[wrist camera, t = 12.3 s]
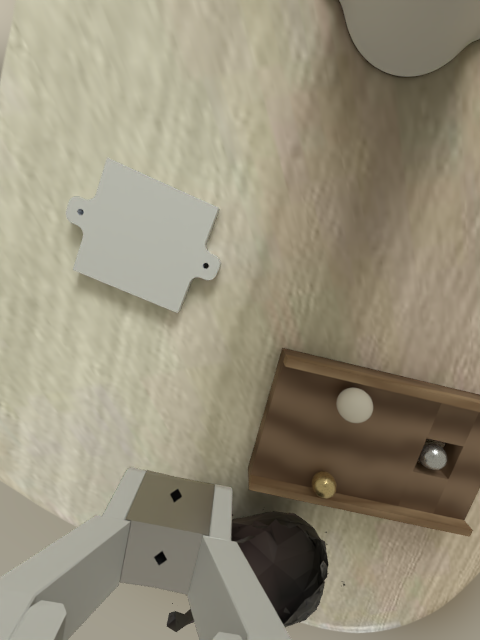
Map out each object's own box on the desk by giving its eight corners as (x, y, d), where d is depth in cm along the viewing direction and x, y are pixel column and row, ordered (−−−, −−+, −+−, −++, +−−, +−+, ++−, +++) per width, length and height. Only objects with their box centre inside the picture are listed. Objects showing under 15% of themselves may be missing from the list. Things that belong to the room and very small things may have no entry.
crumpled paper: (188, 565, 43) (320, 551, 44) (168, 705, 29) (367, 681, 29) (180, 477, 42) (317, 465, 42) (155, 579, 27) (365, 557, 28)
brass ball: (313, 463, 38) (319, 481, 35) (335, 468, 38) (343, 486, 35) (306, 483, 38) (312, 501, 35) (328, 487, 38) (335, 506, 36)
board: (282, 347, 37) (287, 358, 33) (500, 399, 39) (529, 415, 35) (248, 467, 41) (248, 489, 37) (448, 510, 42) (469, 536, 38)
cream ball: (337, 378, 35) (349, 393, 31) (368, 386, 36) (384, 401, 32) (327, 408, 36) (338, 426, 32) (358, 415, 36) (372, 433, 32)
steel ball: (448, 456, 36) (454, 449, 38) (419, 439, 38) (425, 433, 40) (437, 479, 36) (443, 471, 39) (409, 461, 39) (416, 454, 41)
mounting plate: (61, 261, 35) (51, 261, 33) (93, 153, 33) (84, 147, 31) (199, 318, 37) (197, 321, 35) (239, 219, 34) (239, 216, 32)
